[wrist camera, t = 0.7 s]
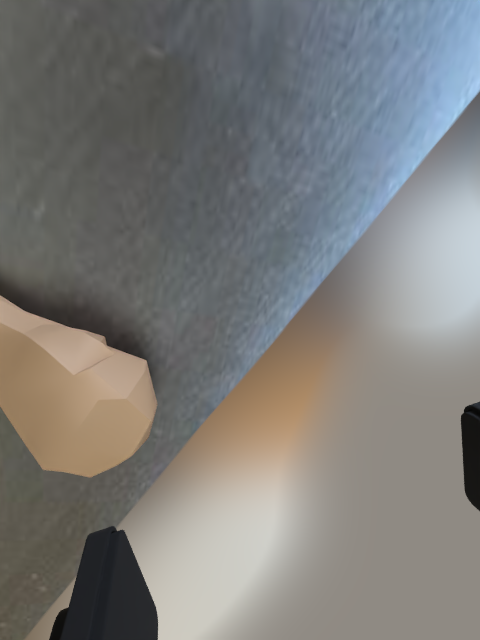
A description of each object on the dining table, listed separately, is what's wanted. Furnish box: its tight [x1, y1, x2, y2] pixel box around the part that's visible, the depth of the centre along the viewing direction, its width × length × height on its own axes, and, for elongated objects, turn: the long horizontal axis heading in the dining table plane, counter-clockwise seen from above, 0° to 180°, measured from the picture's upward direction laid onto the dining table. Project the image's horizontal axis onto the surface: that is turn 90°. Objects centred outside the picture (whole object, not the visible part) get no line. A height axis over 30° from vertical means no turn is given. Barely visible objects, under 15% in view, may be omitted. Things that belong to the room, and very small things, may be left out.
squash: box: [0, 296, 157, 477], centre depth 28 cm, size 11×20×9 cm, turn 50°
